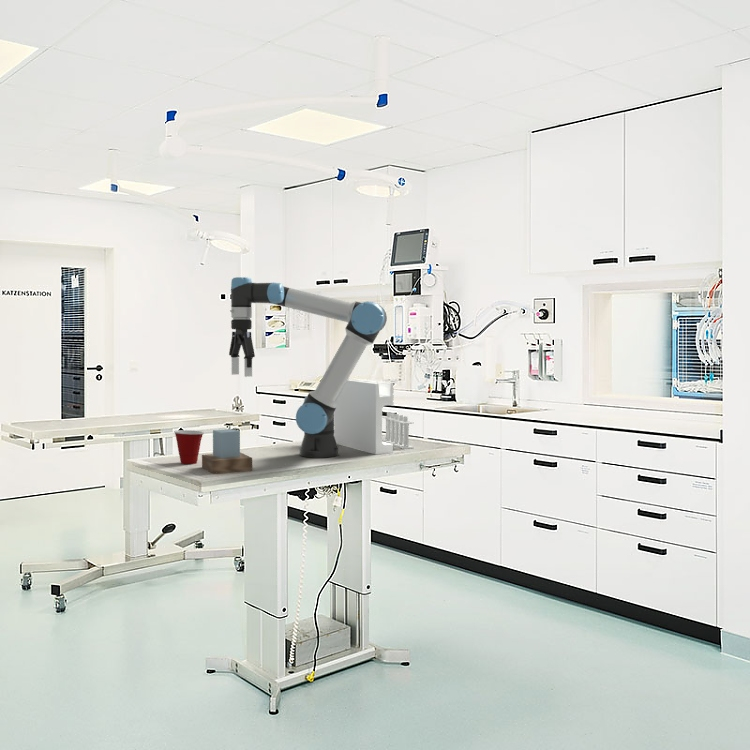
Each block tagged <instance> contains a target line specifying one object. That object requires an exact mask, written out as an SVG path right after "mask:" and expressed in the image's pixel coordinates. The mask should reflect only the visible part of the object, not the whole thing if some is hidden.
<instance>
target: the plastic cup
mask: <svg viewBox="0 0 750 750" xmlns="http://www.w3.org/2000/svg"><path fill="white" fill-rule="evenodd" d="M173 432H174V435H175V439H176V444H177V450H178V455H179V460H180V463H181V465H194V464H197V462H198V460H199V459H198V458H199V453H200V448H201V441H202V440H203V439H202V438H203V435H204V434H205V432H204V431H201V430H192V429H191V430H190V429H189V430H187V429H186V430H185V429H183V430H180V429H178V430H173Z"/></svg>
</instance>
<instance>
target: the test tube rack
mask: <svg viewBox="0 0 750 750" xmlns="http://www.w3.org/2000/svg"><path fill="white" fill-rule="evenodd" d="M408 418H409V417H408V416H407V415H405V416H404V415H403V414H402V415H401V414H398V413H395V412H391V411H387V412H386V416H383V415H382V419H385V438H384V439H383V438H382V442H386V443H390V444H393V447H396V448H399V449H402V450H413V449H414V446H411V445H410V444H409V428H410V427H409V426H410V424H414V422H412V421H410V420H408Z"/></svg>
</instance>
